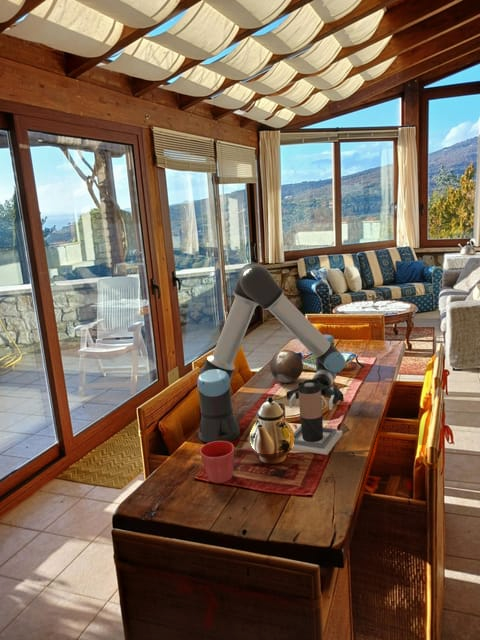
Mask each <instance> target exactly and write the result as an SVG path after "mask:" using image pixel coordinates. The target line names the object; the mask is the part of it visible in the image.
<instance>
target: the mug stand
mask: <svg viewBox="0 0 480 640" xmlns="http://www.w3.org/2000/svg"><path fill="white" fill-rule="evenodd" d="M293 432H294V438H295V439H294V446H293V449H292V450H295V451H301V452H307V453H311V454H312V453H314V454H320V455H325V456H328V454H329V453H330V451H331V450H332V449H333V447H334V446H335V445H336V443H337V442H338V440H339V439H340V438H341V436H342V435H343V430H339V429H337V428H331V427H326V426H323V439H322V440H320V441H317V442H308V441H305V440H303V437H302V429H301V424H300V425H299V426H298V427H297V428H296V429H295V430H294V431H293Z"/></svg>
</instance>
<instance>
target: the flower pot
mask: <svg viewBox="0 0 480 640" xmlns="http://www.w3.org/2000/svg"><path fill="white" fill-rule="evenodd" d="M199 454H200V457H201V461H202V464H203V468H204V470H205V472H206V473H205V474H206V476H207V479H208V481H209V482H211V483H214V484H223V483H226V482H228V481H230V480H231V479H232V477H233V475H234V461H235V459H234V458H235V446H234V444H233V443H232V442H230V441H228V442H227V441H214V442H210V443H206V444H204V445H203V446H201V448H200V449H199Z"/></svg>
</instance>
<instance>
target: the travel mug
mask: <svg viewBox="0 0 480 640" xmlns="http://www.w3.org/2000/svg"><path fill="white" fill-rule="evenodd" d="M297 387H298V390H299V399H298V403H299V404H298V405H299V418H300V425H301V429H302V437H303V440H305V441H308V442H317V441H320V440H322V439H323V427H324V424H323V423H324V422H323V421H324V420H323V419H324V418H323V405H322V404H323V403H322V396H321V387H320V382H319V381H317V380H312V379H305V380H304V381H302V382H300V381H299V382H298V385H297Z"/></svg>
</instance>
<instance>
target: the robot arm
mask: <svg viewBox="0 0 480 640" xmlns="http://www.w3.org/2000/svg"><path fill="white" fill-rule="evenodd" d="M237 275H238V276H237V281H236V283H235V286H234V289H233V291H232V293H233V296H234V300H233V303H232V305H231V307H230V310H229V313H228V314H227V316H226V317H227V318H226V319H225V323H224V326H223V327H222V330H221V332H220V335H219V338H218V340H217V343H216V346H215V348H214V350H213V353H212V354H211V355H209V356H207V357H206V360H205V362H204V365H203V366H202V368H200V371H199V374H198V377H197V383H196V385H197V389H198V398H199V399H198V400H199V407H200V413H201V418H200V424H199V428H198V438H199V439H200V441H202V442H204V443H206V444H208V443H210V442H214V441H227V442H230V441H232V440H235V439H237V437H239V436H240V434H241V430H240V425H239V424H238V420H237V419H236V416H235V414H234V412H233V411H234V409H233V401H232V398H233V397H232V392H231V390H232V389H231V380H232V378H233V375H234V373H235V369H236V366H235V364H234V361H235V359H236V357H237V355H238V353H239V350H240V346H241V344H242V342H243V339H244V337H245V335H246V332H247V331H248V327H249V325H250V323H251V320H252V317H253V316H254V312H255V309H256V307H257V306H260V307H261V308H262V309H263V310H264V311H269V312H270V313H271V314H272V315H273V316H274V317H275V318H276V320H278V321H279V322H280V323H281V324H282V325H283V326H284V327H285V328H286V329H287V330H288V331H289V333H291V334H292V335H293V336H294V337H295V338H296V340H298V341H299V342H300V343H301V344H302V345H303V346H304V348H305V349H307V351H309V352H310V353H311V354H312V355H313V356H314V357H315V369H316V371H315V374H314V375H313V377H312V379H311V380H317V381H319V382H320V387H321V397H322V396H323V397H324V398H328V399H329V401H328V410H329V411H332V409H333V407H334V406H335V405H337V404H338V403H339V401H340V402H343V403H344V402H345V401H344V397H345V396H344V393H343V391H341V389H339V388H338V385H334V386H333V383H334V382H335V380H336V378H337V377H338V376H337V375H338V373H340V372H342V371H343V370H344V368H345V366H346V358H345V357H344V355H343V354H342V352H340V351H339V350H338V349H337V348H336V347H335V338H334V336H333V335H331V334H322V333H321V332H320V330H318V328H317V327H315V325H314V324H313V323H312V322H311V321H310V320H309V319H308V318H307V317H306V316H305V315H304V314H303V313H302V312H301V310H299V309H298V308H297V307H296V306H295V305H294V304H293V303H292V302H291V301H290V300H289V298H287V296H285V293H284V292H285V291H284V290H283V288H282V287H281V286H280V285H279V284H278V283H277V281H276V280H275V278H274V277H273V276H272V274H271V272H270V271H269V270H268V268H267V267H266V266H265V265H263V264H261V263H258V262H250V263H247V264H245V265H244V266H242V267H241V269H240V270H239V271H238V274H237ZM285 394H286V400H288V402H289V403H288V405H289V409H293V407H294V405H295V403H296V401H297V400H299V390H298V386H296V387H294V388H292V389H291V390H289V391H286V393H285Z"/></svg>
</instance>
